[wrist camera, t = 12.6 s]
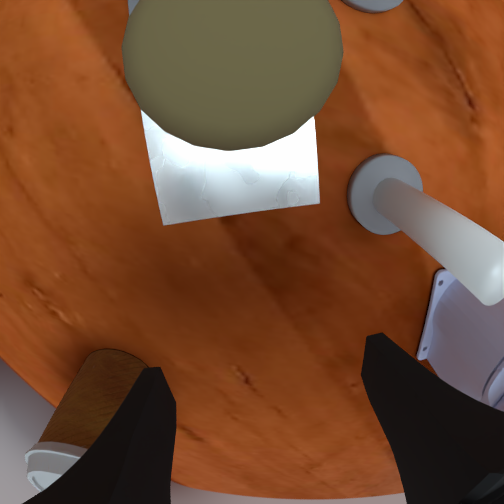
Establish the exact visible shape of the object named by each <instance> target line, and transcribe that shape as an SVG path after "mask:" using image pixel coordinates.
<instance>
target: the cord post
mask: <svg viewBox="0 0 504 504" xmlns="http://www.w3.org/2000/svg"><path fill="white" fill-rule="evenodd" d="M347 201H348V206H349V208H350V211H351V213H352V215H353V216H354V217H355V219H356V220H357V221H358V222H359V223H360V224H361V225H362V226H363V227H365V228H366V229H367V230H369V231H371V232H373V233H376V234H381V235H387V234H392V233H395V232H398V231H400V230H402V231H403V232H404V233H405V234H406V235H408V236H409V237H410V238H411V239H412V240H414V241H415V242H416V243H417V244H418V245H420V246H421V247H422V248H423V249H424V250H425V251H426V252H428V253H429V254H430V255H431V256H432V257H433V258H434V259H436V260H437V261H438V262H439V263H440V264H441V265H442V266H443V267H445V268H446V269H447V270H448V271H449V272H450V273H451V274H452V275H453V276H454V277H456V278H457V279H458V280H459V281H460V282H461V283H462V284H463V285H464V286H465V287H466V288H467V289H468V290H469V291H470V292H471V293H472V294H473V295H474V296H476V297H477V298H478V299H479V300H480V301H481V302H482V303H483V304H484V305H487V306H490V305H494V304H496V303H498V302H499V301H501V300H502V299H503V298H504V242H503V241H502V240H500V239H499V238H497V237H496V236H494V235H493V234H491V233H490V232H488V231H487V230H485V229H484V228H482V227H481V226H479V225H477V224H476V223H474V222H473V221H471V220H469V219H468V218H466V217H465V216H463V215H461V214H460V213H458V212H456V211H455V210H453V209H451V208H450V207H448V206H446V205H444V204H443V203H441V202H439V201H437V200H436V199H434V198H432V197H430V196H429V195H427V194H425V193H423V186H422V181H421V178H420V175H419V173H418V171H417V170H416V168H415V167H414V166H413V165H412V164H411V163H410V162H408V161H407V160H405V159H403V158H400V157H398V156H395V155H392V154H385V153H382V154H376V155H373V156H371V157H369V158H367V159H365V160H364V161H363V162H362V163H360V164H359V166H358V167H357V168H356V169H355V171H354V172H353V174H352V176H351V178H350V181H349V184H348V189H347Z"/></svg>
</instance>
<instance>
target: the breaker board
mask: <svg viewBox="0 0 504 504" xmlns="http://www.w3.org/2000/svg"><path fill="white" fill-rule="evenodd" d="M138 2H139V0H128V6H129V16H130V14H131V13H132V11H133V9H134V8H135V6H136V5H137V3H138ZM141 113H142V119H143V126H144V131H145V137H146V143H147V148H148V154H149V159H150V164H151V170H152V175H153V180H154V185H155V189H156V194H157V199H158V204H159V208H160V213H161V217H162V222H163V225H170V224H176V223H182V222H188V221H195V220H201V219H208V218H214V217H221V216H228V215H235V214H242V213H249V212H256V211H264V210H271V209H279V208H286V207H294V206H302V205H310V204H319V203H320V198H319V180H318V164H317V150H316V137H315V125H314V117H312V118H311V119H310V120H309V121H308V122H307V123H305V124H304V125H303V126H302V127H301V128H300V129H298V130H297V131H296V132H295V133H294V134H292V135H289V136H287V137H285V138H282V139H280V140H278V141H275V142H273V143H271V144H269V145H266V146H264V147H259V148H251V149H244V150H236V151H223V150H216V149H210V148H203V147H196V146H193V145H191V144H189V143H187V142H185V141H183V140H181V139H179V138H177V137H174V136H172V135H170V134H168V133H166V132H164V131H163V130H162V129H161V128H160V127H159V126H158V125H157V124H156V123H155V122H154V121H153V120H152V119H150V118H149V117H148V116H147V115H146V114H145V113H144V112H143V111H142V110H141Z"/></svg>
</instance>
